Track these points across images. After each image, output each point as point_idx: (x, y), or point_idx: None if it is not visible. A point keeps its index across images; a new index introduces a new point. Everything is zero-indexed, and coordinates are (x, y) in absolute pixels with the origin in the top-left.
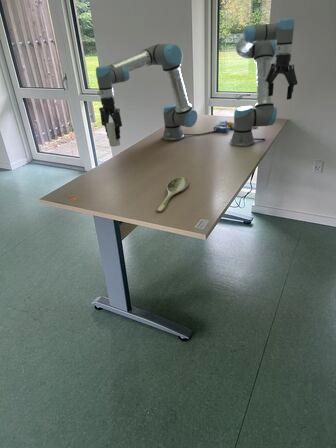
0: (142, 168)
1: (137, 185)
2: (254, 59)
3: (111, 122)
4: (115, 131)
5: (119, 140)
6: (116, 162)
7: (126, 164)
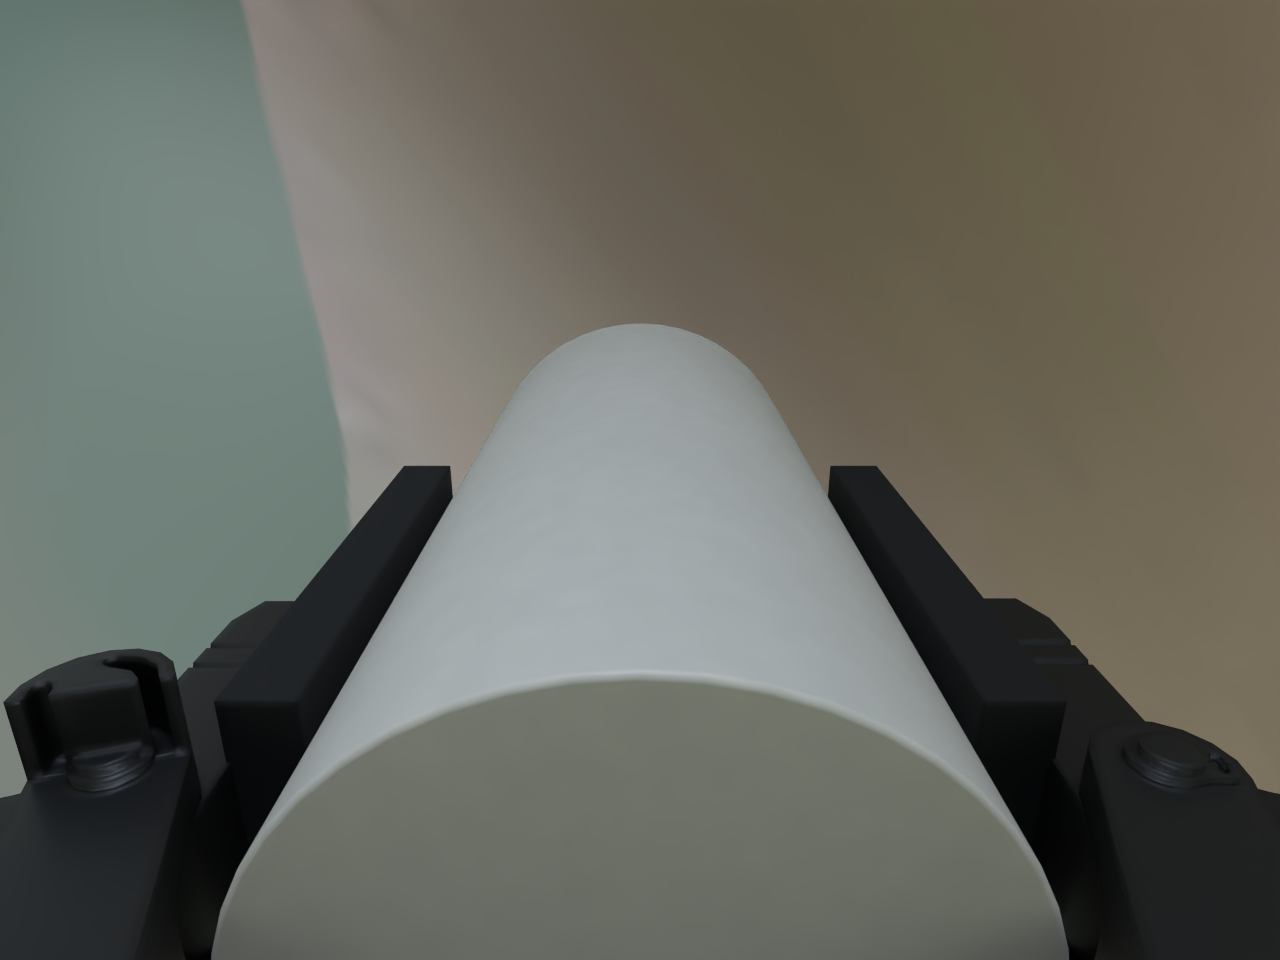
0: (1055, 210)
1: (1254, 701)
2: None
3: (406, 852)
4: None
5: (789, 431)
6: (430, 162)
7: (673, 169)
